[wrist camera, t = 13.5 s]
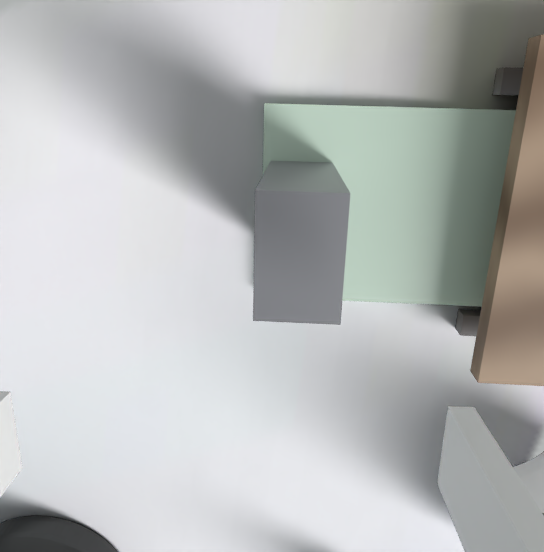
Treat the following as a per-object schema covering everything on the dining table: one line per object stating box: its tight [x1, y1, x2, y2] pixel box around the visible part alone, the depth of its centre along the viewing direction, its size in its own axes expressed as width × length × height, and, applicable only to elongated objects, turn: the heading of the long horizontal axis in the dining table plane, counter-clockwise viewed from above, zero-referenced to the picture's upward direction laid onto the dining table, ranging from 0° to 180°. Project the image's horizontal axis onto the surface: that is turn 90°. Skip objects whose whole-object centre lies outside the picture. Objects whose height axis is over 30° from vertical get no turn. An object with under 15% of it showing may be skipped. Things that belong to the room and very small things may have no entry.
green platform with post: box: [253, 103, 516, 325], centre depth 28 cm, size 13×22×13 cm, turn 89°
